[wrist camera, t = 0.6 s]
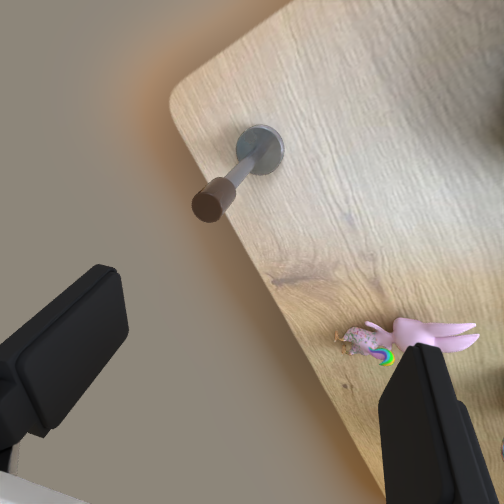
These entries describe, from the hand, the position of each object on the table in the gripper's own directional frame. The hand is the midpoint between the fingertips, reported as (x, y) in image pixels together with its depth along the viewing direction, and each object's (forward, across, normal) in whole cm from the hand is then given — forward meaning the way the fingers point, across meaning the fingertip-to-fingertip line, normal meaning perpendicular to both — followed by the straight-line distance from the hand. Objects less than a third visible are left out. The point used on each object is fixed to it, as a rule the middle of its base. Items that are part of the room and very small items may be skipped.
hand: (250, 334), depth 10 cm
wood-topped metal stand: (+24, +5, +1) cm, 25 cm away
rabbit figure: (+24, -14, +19) cm, 34 cm away
